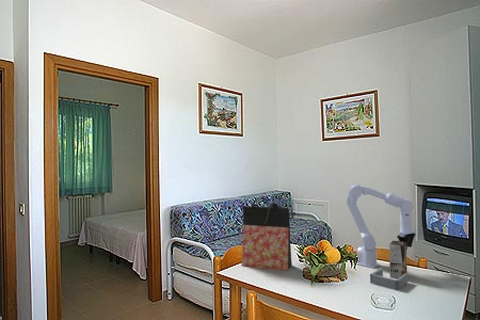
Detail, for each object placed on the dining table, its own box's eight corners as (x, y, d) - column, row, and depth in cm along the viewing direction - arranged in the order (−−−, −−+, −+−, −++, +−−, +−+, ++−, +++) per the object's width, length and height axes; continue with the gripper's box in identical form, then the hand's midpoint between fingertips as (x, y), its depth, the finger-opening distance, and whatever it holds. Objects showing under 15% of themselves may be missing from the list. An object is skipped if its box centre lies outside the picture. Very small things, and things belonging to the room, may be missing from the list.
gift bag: (239, 267, 167) (238, 202, 167) (248, 259, 180) (247, 199, 181) (293, 273, 156) (292, 204, 157) (298, 264, 170) (297, 201, 170)
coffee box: (404, 280, 145) (403, 245, 145) (389, 277, 149) (388, 243, 149) (407, 274, 152) (407, 241, 153) (393, 271, 156) (392, 239, 156)
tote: (370, 283, 142) (370, 274, 142) (380, 276, 151) (380, 267, 151) (397, 290, 134) (397, 281, 134) (407, 282, 142) (407, 274, 142)
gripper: (410, 225, 153) (410, 252, 153) (418, 221, 164) (419, 246, 163) (395, 223, 158) (395, 250, 158) (404, 219, 169) (405, 244, 168)
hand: (406, 248), depth 161 cm, fingers open, 7 cm apart
